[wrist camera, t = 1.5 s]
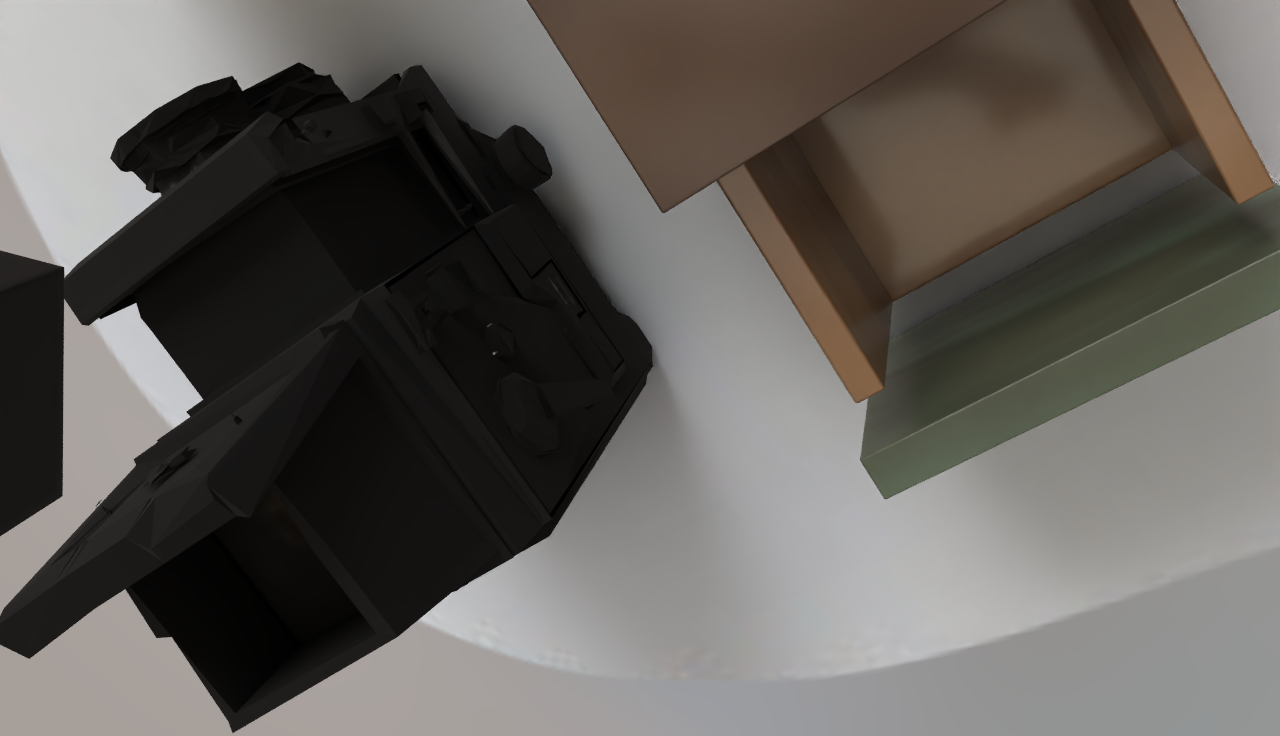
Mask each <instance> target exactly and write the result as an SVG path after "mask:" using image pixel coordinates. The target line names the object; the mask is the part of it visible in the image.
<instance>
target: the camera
mask: <svg viewBox="0 0 1280 736" xmlns="http://www.w3.org/2000/svg"><path fill="white" fill-rule="evenodd" d="M110 158H111V160H112V161H113V162H114V163H115V164H116V165H117V167H118V168H119V169H120V170H121V171H124V172H129V171H132V172H134V173H135V174H136V175H137V176H138V177H139V178H140V179H141V180H142V181H143V182H144V183H145V184H146V190H148V191H150V192H152V193H157V192H160V193H161V195H162V196H161V197H160V198H159V199H157V200H156V201H155V202H154V203H153V204H151V205H150V206H149V207H148V208H146V209H145V210H144V211H143V212H141V213H140V214H139V215H138V216H136V217H135V218H134V219H133V220H131V221H130V222H129V223H128V224H127V225H125V226H124V227H123V228H122V229H120V230H119V231H118V232H117V233H115V234H114V235H113V236H112V237H110V238H109V239H108V240H107V241H105V242H104V243H103V244H102V245H100V246H99V247H98V248H97V249H96V250H94V251H93V252H92V253H91V254H89V255H88V256H87V257H86V258H84V259H83V260H82V261H81V262H79V263H78V264H77V265H76V266H75V267H74V268H73V269H72V271H71V272H70V273H69V274H68V275H67V276H66V277H65V278H64V299H65V300H66V302H67V303H68V305H69V306H70V308H71V309H72V311H73V312H74V314H75V315H76V317H77V318H78V320H79V321H80V323H81V324H82V325H88V326H89V325H90V324H91V323H93V322H94V321H95V320H96V319H98V318H100V319H102V318H104V317H106V316H108V315H111V314H113V313H115V312H117V311H119V310H121V309H124V308H126V307H128V306H130V305H132V304H134V303H137V306H138V310H139V313H140V316H141V318H142V320H143V321H144V322H145V323H146V325H147V326H148V327H149V328H150V330H151V331H152V332H153V333H154V335H155V336H156V337H157V339H158V340H159V341H160V343H161V344H162V345H163V347H164V348H165V349H166V351H167V352H168V353H169V354H170V356H171V357H172V358H173V360H174V361H175V362H176V364H177V365H178V366H179V368H180V369H181V370H182V372H183V373H184V374H185V376H186V377H187V378H188V380H189V381H190V382H191V384H192V385H193V386H194V388H195V389H196V390H197V392H198V393H199V394H200V396H201V397H202V398H203V400H202V401H201V402H199V403H198V404H197V405H195V406H194V407H192V408H191V409H190V410H188V411H187V413H188V414H189V415H190V418H188V419H187V420H185V421H184V422H183V423H181V424H180V425H178V426H177V427H175V428H174V429H173V430H171V431H170V432H168V433H167V434H166V435H164V436H163V437H161V438H160V439H158V440H157V441H158V442H157V443H156V444H155V445H153V446H152V447H150V448H149V449H148V450H146V451H145V452H144V453H142V454H141V455H139V456H138V457H136V458H135V459H134V461H135V463H136V466H135V468H134V469H133V470H132V471H131V472H130V473H129V474H128V475H127V476H126V477H125V478H124V479H123V480H122V481H121V482H120V484H119V485H118V486H117V487H116V488H115V489H114V490H113V491H112V492H111V493H110V494H109V495H108V497H107V498H106V499H105V500H104V501H103V502H102V503H101V504H100V505H99V506H98V507H97V508H96V509H95V511H94V512H93V513H92V514H91V515H90V516H89V517H88V518H87V519H86V520H85V521H84V523H83V524H82V525H81V526H80V527H79V528H78V529H77V530H76V531H75V532H74V533H73V534H72V535H71V537H70V538H69V539H68V540H67V541H66V542H65V543H64V544H63V545H62V546H61V547H60V548H59V549H58V551H57V552H56V553H55V554H54V555H53V556H52V557H51V558H50V559H49V560H48V561H47V562H46V563H45V565H44V566H43V567H42V568H41V569H40V570H39V571H38V572H37V573H36V574H35V575H34V576H33V578H32V579H31V580H30V581H29V582H28V583H27V584H26V585H25V586H24V587H23V589H21V591H20V592H19V593H18V594H17V595H16V596H15V597H14V598H13V599H12V600H11V601H10V602H9V603H8V605H7V606H6V607H5V608H4V609H3V611H2V613H1V616H0V645H2V646H4V647H6V648H8V649H10V650H12V651H14V652H17V653H18V654H21V655H23V656H25V657H27V658H29V659H30V658H31V657H32V656H34V655H35V654H36V653H38V652H39V651H40V650H41V649H43V648H44V647H45V646H47V645H48V644H49V643H50V642H52V641H53V640H54V639H56V638H57V637H58V636H60V635H61V634H62V633H64V632H65V631H66V630H68V629H69V628H70V627H71V626H73V625H74V624H75V623H77V622H78V621H79V620H81V619H82V618H83V617H84V616H86V615H87V614H88V613H89V612H91V611H92V610H94V609H95V608H96V607H98V606H99V605H101V604H102V603H104V602H106V601H107V600H109V599H110V598H112V597H114V596H115V595H117V594H118V593H120V592H121V591H123V590H124V589H126V591H127V592H128V594H129V595H130V597H131V599H132V600H133V602H134V603H135V605H136V606H137V608H138V610H139V611H140V613H141V614H142V616H143V617H144V619H145V621H146V622H147V624H148V625H149V627H150V628H151V630H152V631H153V633H154V635H155V636H156V638H162V637H172V638H173V639H174V641H175V642H176V644H177V645H178V647H179V648H180V650H181V651H182V653H183V654H184V656H185V657H186V659H187V660H188V662H189V663H190V665H191V666H192V668H193V669H194V671H195V672H196V674H197V675H198V677H199V678H200V680H201V681H202V683H203V684H204V686H205V687H206V689H207V690H208V692H209V693H210V695H211V696H212V698H213V699H214V701H215V702H216V704H217V705H218V706H219V708H220V710H221V711H222V713H223V714H224V716H225V717H226V719H227V720H228V722H229V724H230V727H231V730H232V732H233V733H234V732H235V731H237V730H239V729H241V728H242V727H244V726H246V725H247V724H249V723H251V722H252V721H254V720H256V719H258V718H259V717H261V716H263V715H264V714H266V713H268V712H270V711H271V710H273V709H275V708H276V707H278V706H280V705H282V704H283V703H285V702H287V701H288V700H290V699H292V698H294V697H295V696H297V695H299V694H300V693H302V692H304V691H306V690H307V689H309V688H311V687H312V686H314V685H316V684H318V683H319V682H321V681H323V680H324V679H326V678H328V677H329V676H331V675H333V674H335V673H336V672H338V671H340V670H342V669H343V668H345V667H347V666H348V665H350V664H352V663H354V662H355V661H357V660H359V659H360V658H362V657H364V656H366V655H367V654H369V653H371V652H372V651H374V650H376V649H378V648H379V647H381V646H383V645H384V644H386V643H388V642H390V641H391V640H393V639H395V638H396V637H398V636H399V635H400V634H402V633H403V632H404V631H405V630H406V629H408V628H409V627H410V626H411V625H412V624H414V623H415V622H416V621H417V620H419V619H420V618H421V617H422V616H424V615H425V614H426V613H427V612H428V611H430V610H431V609H432V608H433V607H434V606H436V605H437V604H438V603H439V602H440V601H442V600H443V599H444V598H445V597H447V596H448V595H449V594H450V593H451V592H454V591H457V590H458V589H460V588H461V587H463V586H465V585H467V584H468V583H469V582H471V581H472V580H474V579H476V578H478V577H480V576H481V575H483V574H485V573H487V572H488V571H490V570H492V569H494V568H496V567H497V566H499V565H501V564H503V563H505V562H506V561H508V560H510V559H512V558H513V556H515V555H517V554H519V553H520V552H522V551H524V550H526V549H528V548H529V547H531V546H533V545H535V544H536V543H538V542H540V541H542V540H543V539H545V538H547V537H549V536H550V535H551V533H552V532H553V530H554V528H555V527H556V525H557V524H558V522H559V520H560V519H561V517H562V516H563V514H564V513H565V511H566V509H567V508H568V506H569V505H570V503H571V502H572V500H573V498H574V497H575V495H576V494H577V492H578V490H579V489H580V487H581V486H582V484H583V483H584V481H585V479H586V478H587V476H588V475H589V473H590V471H591V470H592V468H593V467H594V465H595V464H596V462H597V460H598V459H599V457H600V456H601V454H602V453H603V451H604V449H605V448H606V446H607V445H608V443H609V441H610V440H611V438H612V437H613V435H614V434H615V432H616V430H617V429H618V427H619V426H620V424H621V423H622V421H623V419H624V418H625V416H626V415H627V413H628V411H629V410H630V408H631V407H632V405H633V404H634V402H635V400H636V399H637V397H638V396H639V394H640V392H641V391H642V389H643V388H644V386H645V385H646V380H647V374H648V373H649V371H650V370H651V368H652V367H653V361H652V346H651V344H650V343H649V342H648V340H647V339H646V337H645V336H644V334H643V333H642V331H641V330H640V328H639V327H638V325H637V324H636V323H635V322H634V321H633V320H632V319H631V318H630V317H629V316H626V315H619V314H618V313H617V311H616V310H615V308H614V307H613V305H612V304H611V302H610V301H609V299H608V298H607V297H606V295H605V294H604V292H603V291H602V289H601V288H600V286H599V285H598V283H597V282H596V281H595V279H594V278H593V276H592V275H591V273H590V272H589V270H588V269H587V267H586V266H585V265H584V263H583V262H582V260H581V259H580V257H579V256H578V254H577V253H576V251H575V250H574V249H573V247H572V246H571V244H570V243H569V241H568V240H567V238H566V237H565V235H564V234H563V232H562V231H561V230H560V228H559V227H558V225H557V224H556V222H555V221H554V219H553V218H552V216H551V215H550V214H549V212H548V211H547V209H546V208H545V206H544V205H543V203H542V202H541V200H540V199H539V198H538V196H537V195H536V193H535V192H534V190H533V189H534V188H536V187H538V186H540V185H541V184H543V183H545V182H547V181H548V180H550V178H551V176H552V174H553V173H552V167H551V165H550V163H549V161H548V157H547V155H546V152H545V149H544V147H543V146H542V145H541V144H540V143H539V142H538V141H537V140H536V139H535V137H534V136H533V135H531V134H530V133H529V132H528V131H527V130H526V129H525V128H523V127H521V126H517V125H513V126H511V127H510V128H509V129H508V130H507V131H506V132H505V133H503V134H502V135H501V136H500V137H499V138H498V139H495V138H492V137H489V136H487V135H485V134H482V133H480V132H478V131H476V130H473V129H471V127H470V126H469V124H468V123H467V122H464V121H462V120H460V119H459V118H458V117H457V115H456V114H455V112H454V111H453V109H452V108H451V107H450V105H449V104H448V102H447V101H446V99H445V98H444V97H443V95H442V94H441V92H440V91H439V89H438V88H437V87H436V85H435V84H434V82H433V81H432V79H431V78H430V77H429V75H428V74H427V72H426V71H425V69H424V68H423V67H422V65H417V66H412V67H410V68H408V69H407V70H406V71H404V72H403V75H402V78H401V77H400V75H399V73H398V74H394V75H393V76H391V77H390V78H389V79H387V80H386V81H385V82H383V83H382V84H381V85H379V86H378V87H377V88H375V89H374V90H373V91H371V92H370V93H369V94H368V95H366V96H365V97H364V98H362V99H361V100H358V101H354V102H350V101H349V100H348V98H347V97H346V96H345V95H344V94H343V92H342V91H341V89H340V88H339V87H338V86H337V85H335V83H334V81H333V79H332V77H331V75H326V76H323V75H318V74H315V72H314V70H313V69H311V68H309V67H307V66H305V65H303V64H301V63H297V64H295V65H293V66H291V67H289V68H287V69H285V70H283V71H281V72H279V73H277V74H275V75H273V76H271V77H269V78H267V79H265V80H263V81H261V82H260V83H258V84H256V85H254V86H252V87H250V88H248V89H246V90H244V91H242V90H241V88H240V87H239V85H238V83H237V80H235V79H234V78H233V76H230V77H227V78H223V79H220V80H217V81H213V82H210V83H207V84H203V85H200V86H197V87H195V88H193V89H191V90H189V91H188V92H186V93H184V94H182V95H181V96H179V97H177V98H175V99H174V100H172V101H170V102H168V103H166V104H165V105H163V106H161V107H159V108H158V109H156V110H154V111H153V112H152V113H151V114H149V115H148V116H147V117H146V118H144V119H143V120H142V121H140V122H139V123H138V124H137V125H135V126H134V127H133V128H132V129H130V130H129V131H128V132H126V133H125V134H124V135H123V136H121V137H120V138H119V139H118V140H117V142H116V145H115V147H114V150H113V152H112V155H111V157H110ZM99 503H100V502H99ZM99 503H98V504H99ZM98 504H97V505H98Z"/></svg>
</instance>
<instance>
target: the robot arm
mask: <svg viewBox="0 0 1280 736" xmlns="http://www.w3.org/2000/svg"><path fill="white" fill-rule="evenodd" d="M63 340H64V267H61V266H57V265H53V264H49V263H46V262H42V261H38V260H34V259H30V258H27V257H22V256H19V255H15V254H11V253H8V252H4V251H0V536H1V535H3V534H4V533H6V532H7V531H9V530H11V529H12V528H14V527H15V526H17V525H18V524H20V523H21V522H23V521H25V520H26V519H28V518H29V517H31V516H32V515H34V514H35V513H37V512H38V511H40V510H42V509H43V508H45V507H46V506H48V505H49V504H51V503H52V502H54V501H56V500H57V499H59V498H60V497H62V490H63V489H62V486H63V481H62V480H63V355H64V354H63V353H64V352H63V349H64V345H63V344H64V341H63Z"/></svg>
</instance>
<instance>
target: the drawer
mask: <svg viewBox="0 0 1280 736" xmlns="http://www.w3.org/2000/svg"><path fill="white" fill-rule="evenodd" d="M1171 150H1175V151H1176V152H1177V153H1178V154H1179V155H1180V156H1182V157H1183V158H1184V159H1185V160H1186V161H1187V162H1189V163H1190V164H1191V165H1192V166H1193V167H1194V168H1196V169H1197V170H1198V171H1199V172H1200V173H1202V174H1200V175H1198V176H1197V177H1195V178H1193V179H1191V180H1189V181H1187V182H1185V183H1183V184H1182V185H1180V186H1178V187H1176V188H1174V189H1172V190H1170V191H1168V192H1167V193H1165V194H1163V195H1161V196H1159V197H1157V198H1155V199H1153V200H1152V201H1150V202H1148V203H1146V204H1144V205H1142V206H1140V207H1138V208H1137V209H1135V210H1133V211H1131V212H1129V213H1127V214H1125V215H1124V216H1122V217H1120V218H1118V219H1116V220H1114V221H1112V222H1110V223H1109V224H1107V225H1105V226H1103V227H1101V228H1099V229H1097V230H1095V231H1094V232H1092V233H1090V234H1088V235H1086V236H1084V237H1082V238H1080V239H1079V240H1077V241H1075V242H1073V243H1071V244H1069V245H1067V246H1065V247H1064V248H1062V249H1060V250H1058V251H1056V252H1054V253H1052V254H1051V255H1049V256H1047V257H1045V258H1043V259H1041V260H1039V261H1037V262H1036V263H1034V264H1032V265H1030V266H1028V267H1026V268H1024V269H1022V270H1021V271H1019V272H1017V273H1015V274H1013V275H1011V276H1009V277H1007V278H1006V279H1004V280H1002V281H1000V282H998V283H996V284H994V285H992V286H991V287H989V288H987V289H985V290H983V291H981V292H979V293H977V294H976V295H974V296H972V297H970V298H968V299H966V300H964V301H963V302H961V303H959V304H957V305H955V306H953V307H951V308H949V309H948V310H946V311H944V312H942V313H940V314H938V315H936V316H934V317H933V318H931V319H929V320H927V321H925V322H923V323H921V324H919V325H918V326H916V327H914V328H912V329H910V330H908V331H906V332H904V333H903V334H901V335H899V336H897V337H895V338H893V339H891V340H889V335H890V325H891V314H892V304H893V302H894V301H896V300H898V299H900V298H901V297H903V296H905V295H907V294H909V293H911V292H912V291H914V290H916V289H918V288H920V287H922V286H923V285H925V284H927V283H929V282H931V281H933V280H934V279H936V278H938V277H940V276H942V275H944V274H945V273H947V272H949V271H951V270H953V269H955V268H956V267H958V266H960V265H962V264H964V263H966V262H967V261H969V260H971V259H973V258H975V257H977V256H978V255H980V254H982V253H984V252H986V251H988V250H989V249H991V248H993V247H995V246H997V245H999V244H1000V243H1002V242H1004V241H1006V240H1008V239H1010V238H1011V237H1013V236H1015V235H1017V234H1019V233H1021V232H1022V231H1024V230H1026V229H1028V228H1030V227H1031V226H1033V225H1035V224H1037V223H1039V222H1041V221H1042V220H1044V219H1046V218H1048V217H1050V216H1052V215H1053V214H1055V213H1057V212H1059V211H1061V210H1063V209H1064V208H1066V207H1068V206H1070V205H1072V204H1074V203H1075V202H1077V201H1079V200H1081V199H1083V198H1085V197H1086V196H1088V195H1090V194H1092V193H1094V192H1096V191H1097V190H1099V189H1101V188H1103V187H1105V186H1107V185H1108V184H1110V183H1112V182H1114V181H1116V180H1118V179H1119V178H1121V177H1123V176H1125V175H1127V174H1129V173H1130V172H1132V171H1134V170H1136V169H1138V168H1140V167H1141V166H1143V165H1145V164H1147V163H1149V162H1151V161H1152V160H1154V159H1156V158H1158V157H1160V156H1162V155H1163V154H1165V153H1167V152H1169V151H1171ZM717 183H718V184H719V186H720V187H721V189H722V191H723V192H724V194H725V195H726V197H727V199H728V200H729V202H730V203H731V205H732V207H733V208H734V210H735V211H736V213H737V215H738V216H739V218H740V219H741V221H742V223H743V224H744V226H745V227H746V229H747V231H748V232H749V234H750V235H751V237H752V239H753V240H754V242H755V243H756V245H757V247H758V248H759V250H760V251H761V253H762V255H763V256H764V258H765V259H766V261H767V263H768V264H769V266H770V267H771V269H772V271H773V272H774V274H775V275H776V277H777V279H778V280H779V282H780V283H781V285H782V287H783V288H784V290H785V291H786V293H787V295H788V296H789V298H790V299H791V301H792V303H793V304H794V306H795V307H796V309H797V311H798V312H799V314H800V315H801V317H802V319H803V320H804V322H805V323H806V325H807V327H808V328H809V330H810V331H811V333H812V335H813V336H814V338H815V339H816V341H817V343H818V344H819V346H820V347H821V349H822V351H823V352H824V354H825V355H826V357H827V359H828V360H829V362H830V363H831V365H832V367H833V368H834V370H835V371H836V373H837V375H838V376H839V378H840V379H841V381H842V383H843V384H844V386H845V387H846V389H847V391H848V392H849V394H850V395H851V397H852V399H853V400H854V402H856V403H859V402H861V401H863V400H865V399H867V398H868V403H867V411H866V419H865V426H864V434H863V442H862V450H861V457H860V461H861V463H862V464H863V466H864V467H865V469H866V471H867V472H868V474H869V475H870V477H871V479H872V480H873V482H874V483H875V485H876V486H877V488H878V490H879V491H880V493H881V494H882V496H883V498H884V499H888V498H890V497H892V496H894V495H896V494H898V493H900V492H902V491H904V490H906V489H908V488H910V487H912V486H914V485H917V484H919V483H921V482H923V481H925V480H927V479H929V478H931V477H933V476H935V475H937V474H939V473H941V472H943V471H946V470H948V469H950V468H952V467H954V466H956V465H958V464H960V463H962V462H964V461H966V460H968V459H970V458H972V457H975V456H977V455H979V454H981V453H983V452H985V451H987V450H989V449H991V448H993V447H995V446H997V445H999V444H1001V443H1003V442H1006V441H1008V440H1010V439H1012V438H1014V437H1016V436H1018V435H1020V434H1022V433H1024V432H1026V431H1028V430H1030V429H1032V428H1035V427H1037V426H1039V425H1041V424H1043V423H1045V422H1047V421H1049V420H1051V419H1053V418H1055V417H1057V416H1059V415H1061V414H1064V413H1066V412H1068V411H1070V410H1072V409H1074V408H1076V407H1078V406H1080V405H1082V404H1084V403H1086V402H1088V401H1090V400H1092V399H1095V398H1097V397H1099V396H1101V395H1103V394H1105V393H1107V392H1109V391H1111V390H1113V389H1115V388H1117V387H1119V386H1121V385H1124V384H1126V383H1128V382H1130V381H1132V380H1134V379H1136V378H1138V377H1140V376H1142V375H1144V374H1146V373H1148V372H1150V371H1152V370H1155V369H1157V368H1159V367H1161V366H1163V365H1165V364H1167V363H1169V362H1171V361H1173V360H1175V359H1177V358H1179V357H1181V356H1184V355H1186V354H1188V353H1190V352H1192V351H1194V350H1196V349H1198V348H1200V347H1202V346H1204V345H1206V344H1208V343H1210V342H1213V341H1215V340H1217V339H1219V338H1221V337H1223V336H1225V335H1227V334H1229V333H1231V332H1233V331H1235V330H1237V329H1239V328H1241V327H1244V326H1246V325H1248V324H1250V323H1252V322H1254V321H1256V320H1258V319H1260V318H1262V317H1264V316H1266V315H1268V314H1270V313H1273V312H1275V311H1277V310H1279V309H1280V186H1279V185H1277V184H1276V183H1275V182H1273V181H1272V179H1271V177H1270V175H1269V173H1268V171H1267V170H1266V168H1265V166H1264V164H1263V162H1262V160H1261V159H1260V157H1259V155H1258V153H1257V151H1256V149H1255V147H1254V146H1253V144H1252V142H1251V140H1250V138H1249V136H1248V134H1247V133H1246V131H1245V129H1244V127H1243V125H1242V123H1241V121H1240V120H1239V118H1238V116H1237V114H1236V112H1235V110H1234V108H1233V107H1232V105H1231V103H1230V101H1229V99H1228V97H1227V95H1226V94H1225V92H1224V90H1223V88H1222V86H1221V84H1220V83H1219V81H1218V79H1217V77H1216V75H1215V73H1214V71H1213V70H1212V68H1211V66H1210V64H1209V62H1208V60H1207V58H1206V57H1205V55H1204V53H1203V51H1202V49H1201V47H1200V45H1199V44H1198V42H1197V40H1196V38H1195V36H1194V34H1193V32H1192V31H1191V29H1190V27H1189V25H1188V23H1187V21H1186V19H1185V18H1184V16H1183V14H1182V12H1181V10H1180V8H1179V7H1178V5H1177V3H1176V1H1175V0H1007V1H1005V2H1004V3H1002V4H1001V5H999V6H997V7H996V8H994V9H993V10H991V11H989V12H988V13H986V14H984V15H983V16H981V17H980V18H978V19H976V20H975V21H973V22H972V23H970V24H968V25H967V26H965V27H964V28H962V29H960V30H959V31H957V32H955V33H954V34H952V35H951V36H949V37H947V38H946V39H944V40H943V41H941V42H939V43H938V44H936V45H935V46H933V47H931V48H930V49H928V50H926V51H925V52H923V53H922V54H920V55H918V56H917V57H915V58H914V59H912V60H910V61H909V62H907V63H906V64H904V65H902V66H901V67H899V68H897V69H896V70H894V71H893V72H891V73H889V74H888V75H886V76H885V77H883V78H881V79H880V80H878V81H877V82H875V83H873V84H872V85H870V86H868V87H867V88H865V89H864V90H862V91H860V92H859V93H857V94H856V95H854V96H852V97H851V98H849V99H848V100H846V101H844V102H843V103H841V104H839V105H838V106H836V107H835V108H833V109H831V110H830V111H828V112H827V113H825V114H823V115H822V116H820V117H819V118H817V119H815V120H814V121H812V122H810V123H809V124H807V125H806V126H804V127H802V128H801V129H799V130H798V131H796V132H794V133H793V134H791V135H790V136H788V137H786V138H785V139H783V140H781V141H780V142H778V143H777V144H775V145H773V146H772V147H770V148H769V149H767V150H765V151H764V152H762V153H761V154H759V155H757V156H756V157H754V158H752V159H751V160H749V161H748V162H746V163H744V164H743V165H741V166H740V167H738V168H736V169H735V170H733V171H732V172H730V173H728V174H727V175H725V176H723V177H722V178H720V179H719V180H717Z"/></svg>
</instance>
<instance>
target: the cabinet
mask: <svg viewBox="0 0 1280 736" xmlns="http://www.w3.org/2000/svg"><path fill="white" fill-rule="evenodd" d="M527 1H528V3H529V4H530V6H531V8H532V9H533V11H534V12H535V14H536V15H537V17H538V19H539V20H540V22H541V23H542V25H543V26H544V28H545V30H546V31H547V33H548V34H549V36H550V37H551V39H552V41H553V42H554V44H555V45H556V47H557V48H558V50H559V52H560V53H561V55H562V56H563V58H564V59H565V61H566V63H567V64H568V66H569V67H570V69H571V70H572V72H573V74H574V75H575V77H576V78H577V80H578V81H579V83H580V85H581V86H582V88H583V89H584V91H585V92H586V94H587V96H588V97H589V99H590V100H591V102H592V103H593V105H594V107H595V108H596V110H597V111H598V113H599V114H600V116H601V118H602V119H603V121H604V122H605V124H606V125H607V127H608V129H609V130H610V132H611V133H612V135H613V136H614V138H615V140H616V141H617V143H618V144H619V146H620V147H621V149H622V151H623V152H624V154H625V155H626V157H627V158H628V160H629V162H630V163H631V165H632V166H633V168H634V169H635V171H636V173H637V174H638V176H639V177H640V179H641V180H642V182H643V184H644V185H645V187H646V188H647V190H648V191H649V193H650V195H651V196H652V198H653V199H654V201H655V202H656V204H657V206H658V207H659V209H660V210H661V212H662V213H665V212H667V211H669V210H670V209H672V208H674V207H675V206H677V205H678V204H680V203H682V202H683V201H685V200H686V199H688V198H690V197H691V196H693V195H694V194H696V193H698V192H699V191H701V190H703V189H704V188H706V187H707V186H709V185H711V184H712V183H714V182H715V181H717V180H719V179H720V178H722V177H723V176H725V175H727V174H728V173H730V172H732V171H733V170H735V169H736V168H738V167H740V166H741V165H743V164H744V163H746V162H748V161H749V160H751V159H752V158H754V157H756V156H757V155H759V154H761V153H762V152H764V151H765V150H767V149H769V148H770V147H772V146H773V145H775V144H777V143H778V142H780V141H781V140H783V139H785V138H786V137H788V136H790V135H791V134H793V133H794V132H796V131H798V130H799V129H801V128H802V127H804V126H806V125H807V124H809V123H810V122H812V121H814V120H815V119H817V118H819V117H820V116H822V115H823V114H825V113H827V112H828V111H830V110H831V109H833V108H835V107H836V106H838V105H839V104H841V103H843V102H844V101H846V100H848V99H849V98H851V97H852V96H854V95H856V94H857V93H859V92H860V91H862V90H864V89H865V88H867V87H868V86H870V85H872V84H873V83H875V82H877V81H878V80H880V79H881V78H883V77H885V76H886V75H888V74H889V73H891V72H893V71H894V70H896V69H897V68H899V67H901V66H902V65H904V64H906V63H907V62H909V61H910V60H912V59H914V58H915V57H917V56H918V55H920V54H922V53H923V52H925V51H926V50H928V49H930V48H931V47H933V46H935V45H936V44H938V43H939V42H941V41H943V40H944V39H946V38H947V37H949V36H951V35H952V34H954V33H955V32H957V31H959V30H960V29H962V28H964V27H965V26H967V25H968V24H970V23H972V22H973V21H975V20H976V19H978V18H980V17H981V16H983V15H984V14H986V13H988V12H989V11H991V10H993V9H994V8H996V7H997V6H999V5H1001V4H1002V3H1004V2H1005V1H1007V0H527Z"/></svg>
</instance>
